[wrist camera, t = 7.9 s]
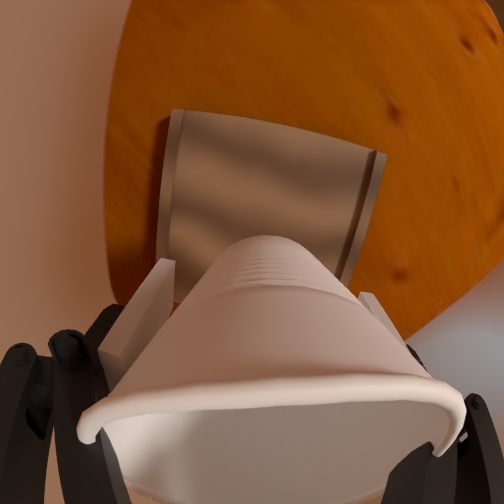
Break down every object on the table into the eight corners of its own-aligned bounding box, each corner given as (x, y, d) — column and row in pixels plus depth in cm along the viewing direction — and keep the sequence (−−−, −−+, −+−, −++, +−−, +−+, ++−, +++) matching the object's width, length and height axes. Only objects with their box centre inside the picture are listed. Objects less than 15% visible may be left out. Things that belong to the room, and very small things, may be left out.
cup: (162, 325, 16) (100, 485, 6) (203, 167, 12) (28, 274, 2) (307, 365, 17) (332, 517, 7) (382, 235, 13) (522, 383, 3)
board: (179, 111, 21) (172, 108, 19) (377, 152, 22) (387, 154, 20) (161, 291, 28) (155, 301, 26) (325, 318, 29) (330, 329, 27)
